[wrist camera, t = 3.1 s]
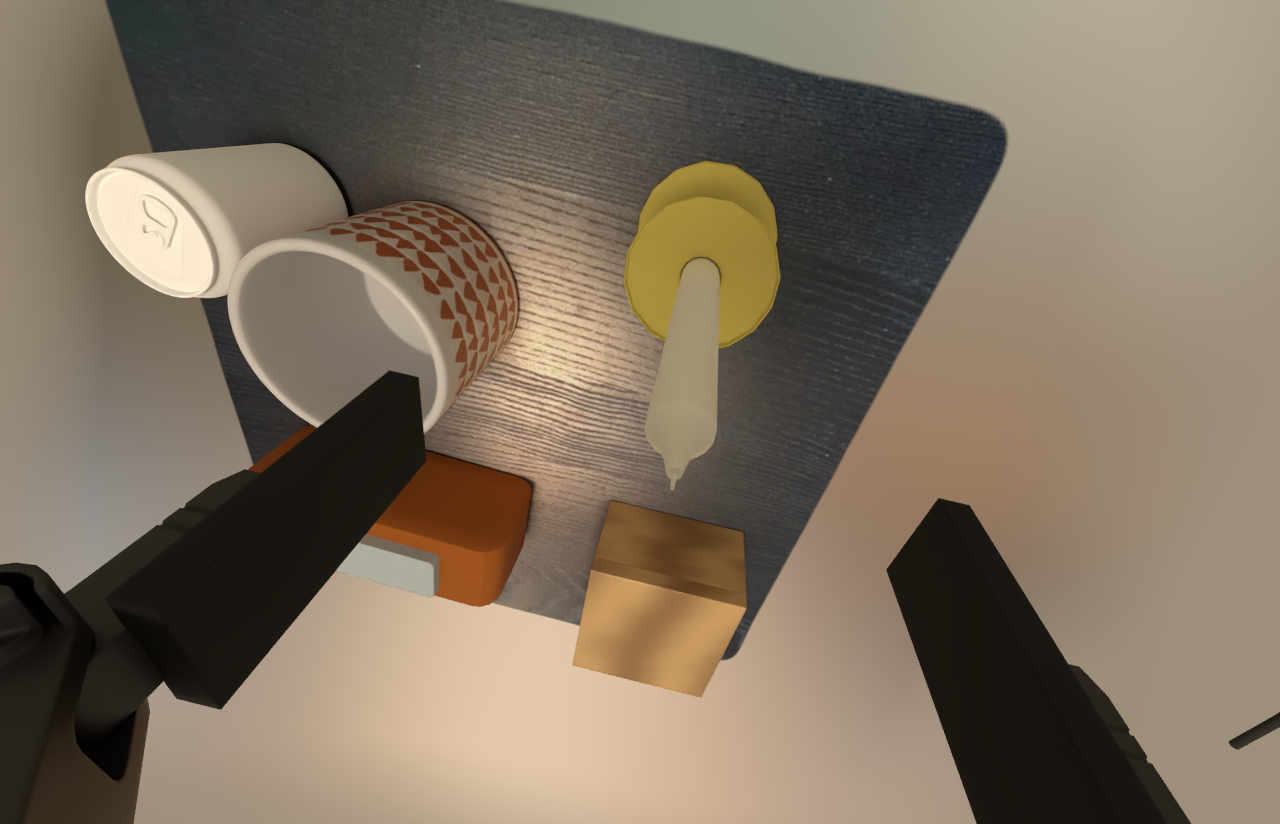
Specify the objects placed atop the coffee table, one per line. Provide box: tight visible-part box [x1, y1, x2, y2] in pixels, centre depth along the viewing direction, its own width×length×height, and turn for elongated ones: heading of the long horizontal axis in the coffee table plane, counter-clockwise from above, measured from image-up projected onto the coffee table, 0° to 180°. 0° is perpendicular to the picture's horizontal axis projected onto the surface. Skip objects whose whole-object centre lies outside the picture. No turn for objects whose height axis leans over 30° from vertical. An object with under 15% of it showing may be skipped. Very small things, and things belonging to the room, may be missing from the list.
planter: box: [228, 201, 518, 433], centre depth 34 cm, size 14×14×13 cm
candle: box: [624, 161, 780, 490], centre depth 23 cm, size 10×10×27 cm
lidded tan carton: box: [573, 500, 747, 697], centre depth 50 cm, size 14×16×9 cm
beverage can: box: [85, 143, 348, 298], centre depth 32 cm, size 8×8×12 cm
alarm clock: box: [249, 425, 531, 607], centre depth 47 cm, size 24×8×11 cm, turn 76°
